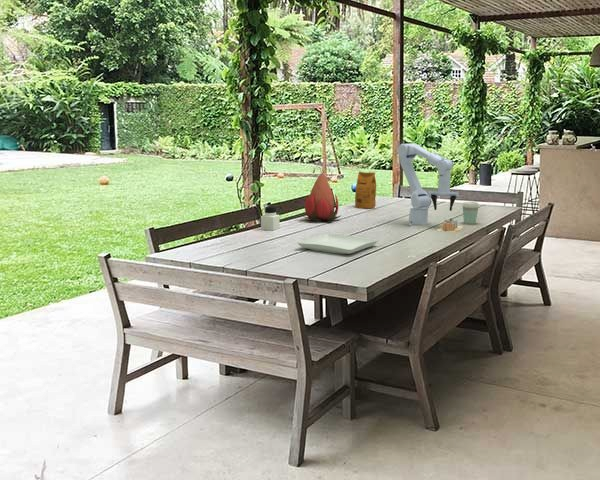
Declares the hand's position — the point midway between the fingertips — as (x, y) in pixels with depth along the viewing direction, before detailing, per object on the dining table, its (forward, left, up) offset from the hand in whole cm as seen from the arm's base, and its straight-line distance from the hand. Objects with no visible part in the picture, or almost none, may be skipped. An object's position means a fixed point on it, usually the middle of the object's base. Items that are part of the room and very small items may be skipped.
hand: (443, 210), depth 354 cm
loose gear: (+4, -6, -9) cm, 11 cm away
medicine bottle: (-82, -32, -10) cm, 88 cm away
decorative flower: (-67, +4, -10) cm, 67 cm away
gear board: (+4, -1, -10) cm, 11 cm away
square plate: (-36, -63, -10) cm, 73 cm away
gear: (+4, +2, -9) cm, 10 cm away
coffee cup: (+11, +17, -10) cm, 23 cm away
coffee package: (-57, +57, -10) cm, 81 cm away
